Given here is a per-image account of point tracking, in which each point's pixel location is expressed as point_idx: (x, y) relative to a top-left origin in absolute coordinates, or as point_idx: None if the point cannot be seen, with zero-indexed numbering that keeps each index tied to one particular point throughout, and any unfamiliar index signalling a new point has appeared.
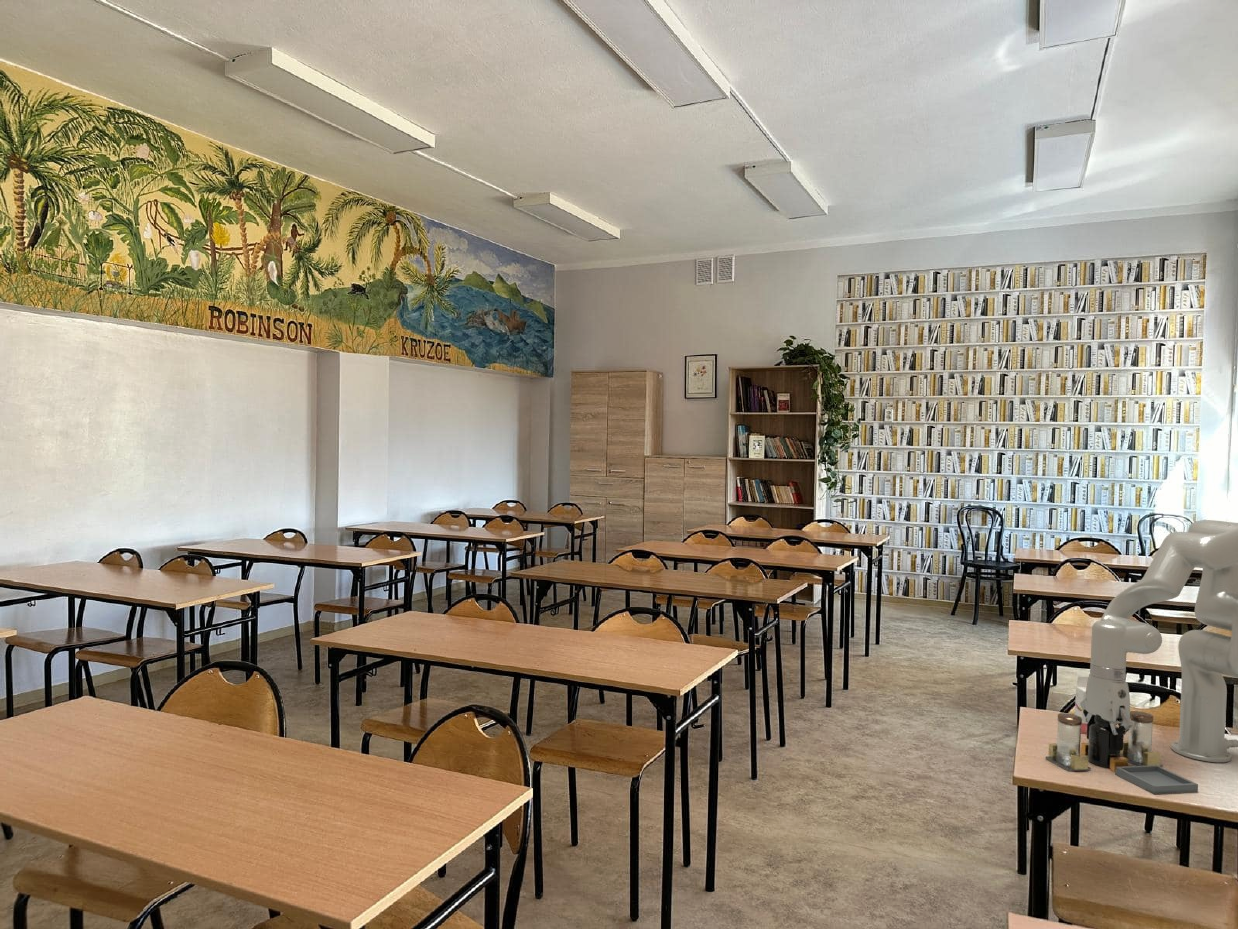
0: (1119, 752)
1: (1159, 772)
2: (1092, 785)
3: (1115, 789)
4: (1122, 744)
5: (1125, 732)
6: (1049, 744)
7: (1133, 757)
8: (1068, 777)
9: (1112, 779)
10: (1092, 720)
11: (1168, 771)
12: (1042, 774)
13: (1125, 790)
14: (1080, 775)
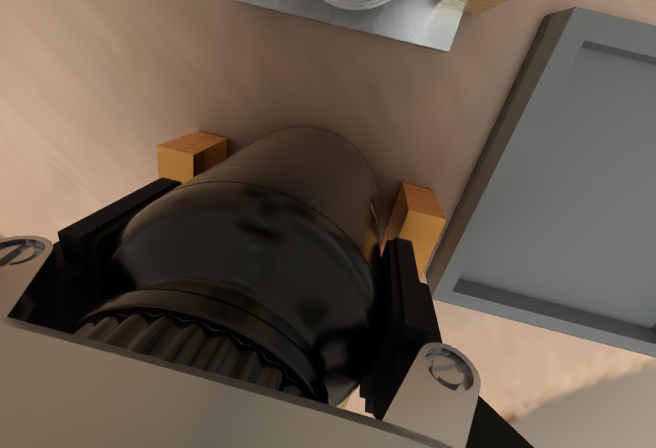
0: (377, 213)
1: (589, 49)
2: None
3: (510, 392)
4: (430, 296)
5: (499, 425)
6: None
7: (366, 5)
8: (365, 415)
9: (450, 327)
10: (58, 327)
11: None
12: None
13: (538, 376)
14: None
